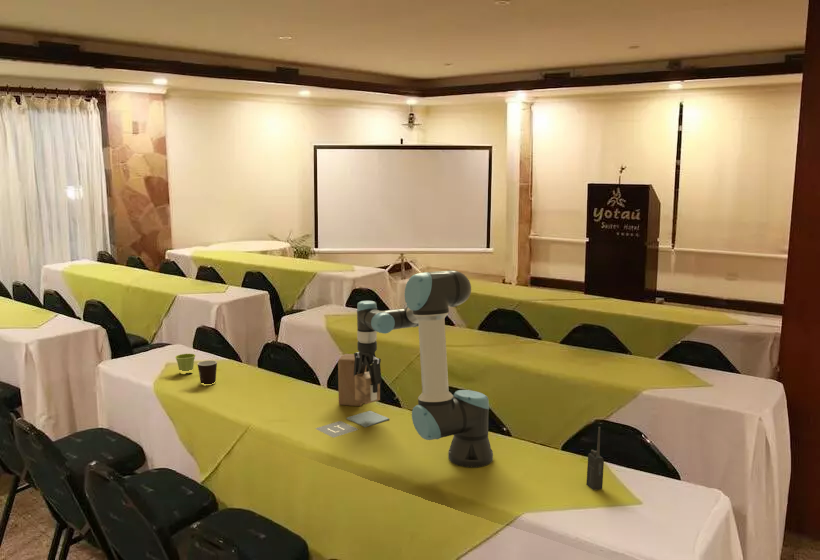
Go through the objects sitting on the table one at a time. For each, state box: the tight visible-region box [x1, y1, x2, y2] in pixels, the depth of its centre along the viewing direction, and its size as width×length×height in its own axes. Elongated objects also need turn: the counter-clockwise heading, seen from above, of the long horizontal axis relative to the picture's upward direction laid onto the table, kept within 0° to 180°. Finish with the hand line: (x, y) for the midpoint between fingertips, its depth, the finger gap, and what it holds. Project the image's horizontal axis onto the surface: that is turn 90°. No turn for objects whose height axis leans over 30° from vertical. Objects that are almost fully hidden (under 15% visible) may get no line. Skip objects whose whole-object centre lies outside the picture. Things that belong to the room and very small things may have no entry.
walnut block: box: [355, 371, 381, 405], centre depth 261 cm, size 7×7×10 cm
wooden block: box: [337, 353, 367, 407], centre depth 281 cm, size 10×10×20 cm
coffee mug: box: [196, 359, 218, 384], centre depth 308 cm, size 12×9×10 cm
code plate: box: [314, 420, 360, 438], centre depth 253 cm, size 12×12×1 cm
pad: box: [346, 410, 390, 428], centre depth 263 cm, size 12×12×1 cm
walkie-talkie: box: [585, 426, 605, 491], centre depth 205 cm, size 5×3×20 cm
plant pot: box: [174, 353, 196, 371], centre depth 323 cm, size 9×9×9 cm
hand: (367, 397), depth 261 cm, fingers closed on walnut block, 7 cm apart
